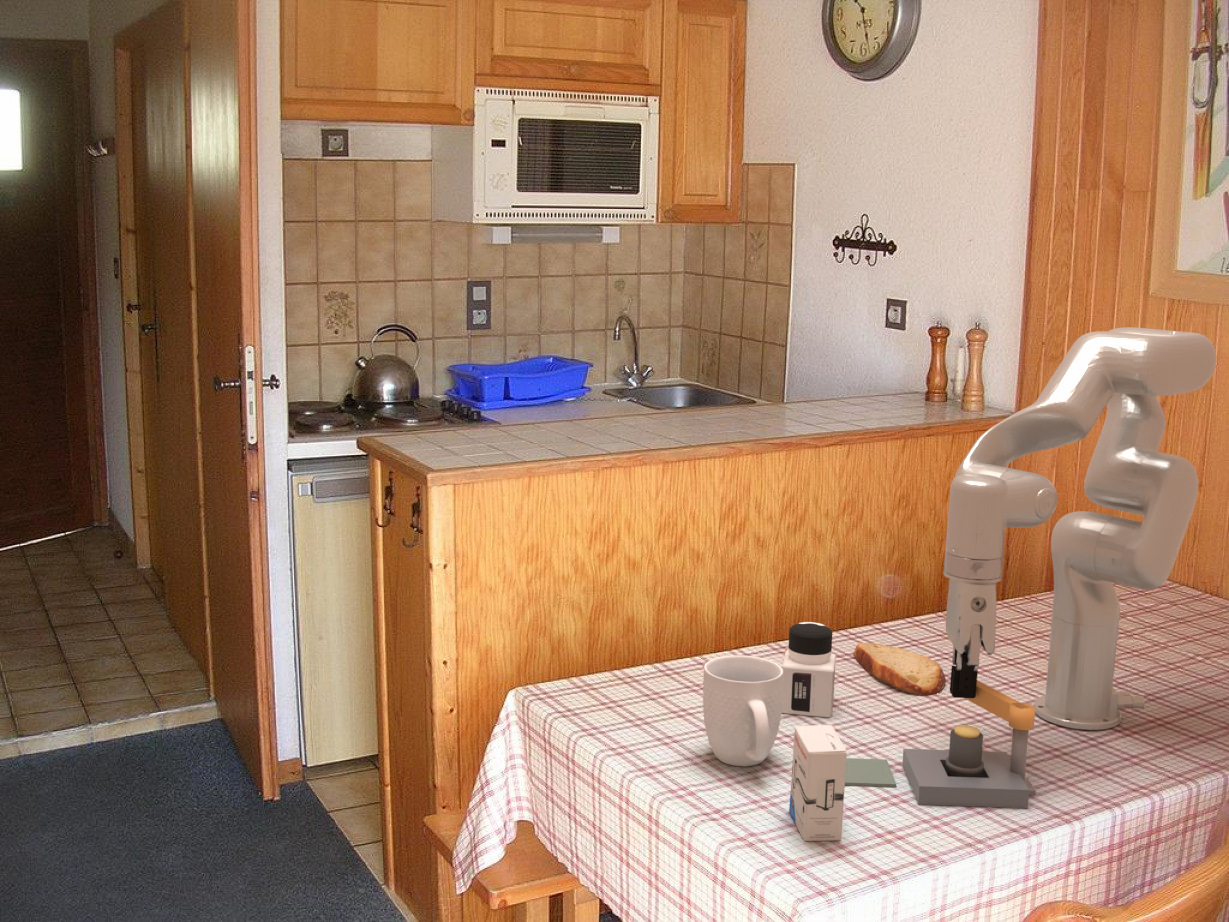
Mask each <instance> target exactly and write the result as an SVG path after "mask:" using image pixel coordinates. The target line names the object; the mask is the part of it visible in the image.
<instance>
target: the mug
mask: <svg viewBox="0 0 1229 922" xmlns="http://www.w3.org/2000/svg"><path fill="white" fill-rule="evenodd" d="M702 685H703V686H702V708H703V714H702V715H703V723H704V728H705V733H706V736H707V741H708V744H709V746H710V748H711V750H712V751H713V754H714V756H716V759H718V760H719V761H720V762H722V763H724V764H727V765H729V766H734V767H752V766H756V765H759V764H761V763H762V762H764V760H765V759H766V758H767V757H768V755H769V754H770V752H771V750H772V748H773V746H774V745H775V742H776V739H777V735H778V732H779V730H780V729H779V727H780V724H781V717H782V714H783V713H782V701H783V700H782V699H783V669H782V666H780V665H779V664H777V663H776V662H774V661H773V660H769V659H767V658H765V657H764V658H762V657H758V656H752V655H739V654H738V655H724V656H720V657H719V656H718V657H715V658H712V659H710V660H708V661H706V663H705V664H704V667H703V684H702Z"/></svg>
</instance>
